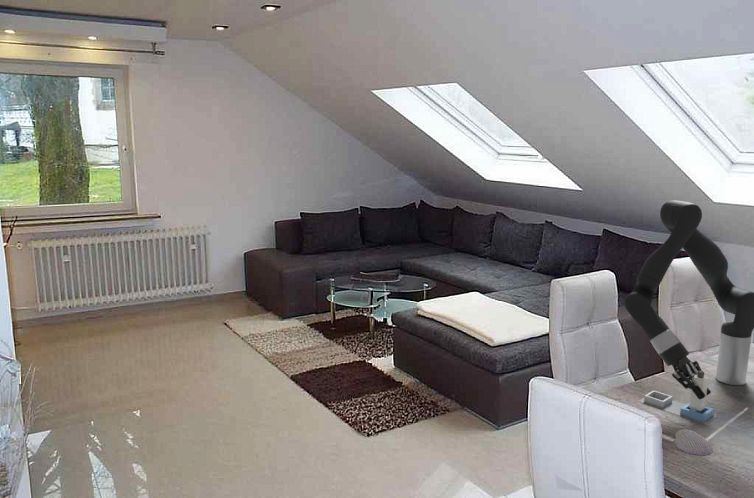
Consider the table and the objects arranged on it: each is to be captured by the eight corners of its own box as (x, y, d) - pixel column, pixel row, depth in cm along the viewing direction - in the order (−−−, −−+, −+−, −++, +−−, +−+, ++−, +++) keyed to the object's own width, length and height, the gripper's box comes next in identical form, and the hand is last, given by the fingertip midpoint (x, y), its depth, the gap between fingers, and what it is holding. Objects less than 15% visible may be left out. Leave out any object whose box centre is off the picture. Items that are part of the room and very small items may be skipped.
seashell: (686, 423, 180) (719, 431, 171) (688, 442, 180) (721, 450, 171) (663, 431, 175) (696, 439, 166) (665, 450, 175) (698, 459, 166)
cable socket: (637, 403, 199) (638, 393, 199) (650, 395, 205) (651, 385, 205) (705, 426, 184) (706, 415, 183) (717, 417, 190) (719, 406, 189)
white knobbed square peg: (688, 407, 190) (692, 371, 187) (693, 404, 192) (697, 368, 190) (700, 411, 187) (704, 375, 185) (705, 407, 189) (709, 372, 187)
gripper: (668, 346, 187) (706, 397, 180) (688, 336, 196) (725, 384, 189) (649, 358, 192) (685, 408, 185) (669, 348, 201) (705, 395, 194)
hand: (705, 396), depth 187 cm, fingers closed on white knobbed square peg, 3 cm apart
